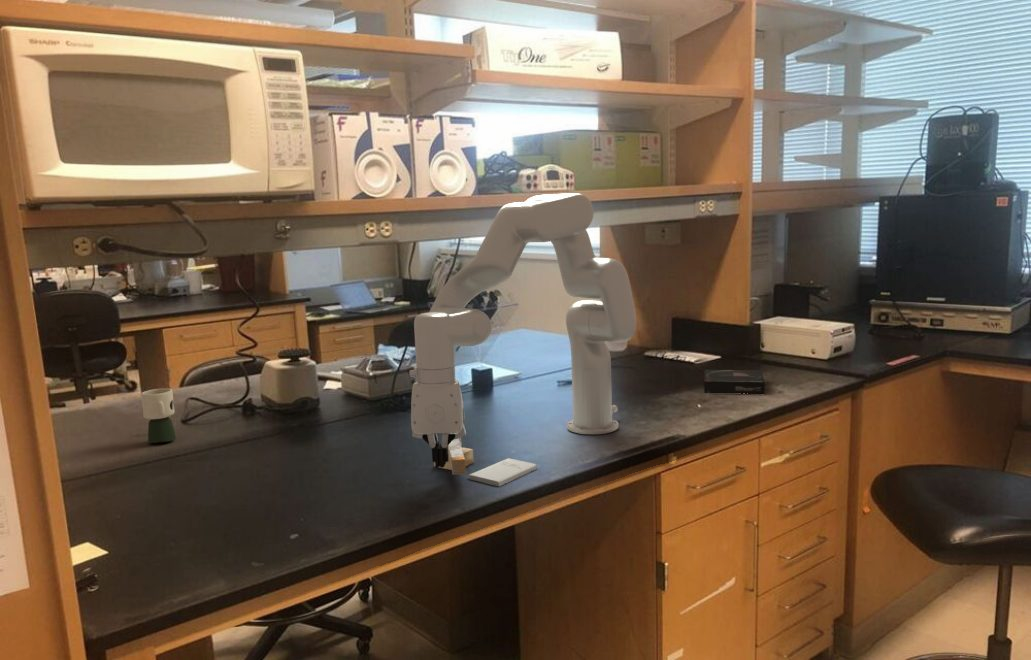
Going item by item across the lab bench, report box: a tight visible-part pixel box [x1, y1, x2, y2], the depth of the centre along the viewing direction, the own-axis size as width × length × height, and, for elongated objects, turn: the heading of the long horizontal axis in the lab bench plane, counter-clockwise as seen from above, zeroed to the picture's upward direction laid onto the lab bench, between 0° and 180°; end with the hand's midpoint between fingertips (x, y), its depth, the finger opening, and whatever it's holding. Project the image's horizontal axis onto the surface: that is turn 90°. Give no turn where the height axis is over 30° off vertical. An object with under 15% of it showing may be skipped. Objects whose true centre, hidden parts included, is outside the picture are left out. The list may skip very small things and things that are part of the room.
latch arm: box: [448, 437, 467, 476], centre depth 157 cm, size 18×4×3 cm, turn 9°
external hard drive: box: [467, 457, 538, 487], centre depth 158 cm, size 2×8×12 cm
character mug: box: [140, 387, 177, 444], centre depth 190 cm, size 11×7×13 cm, turn 34°
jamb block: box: [433, 447, 475, 471], centre depth 165 cm, size 6×6×3 cm
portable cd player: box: [703, 369, 766, 395], centre depth 224 cm, size 16×17×4 cm
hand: (440, 465), depth 153 cm, fingers closed
